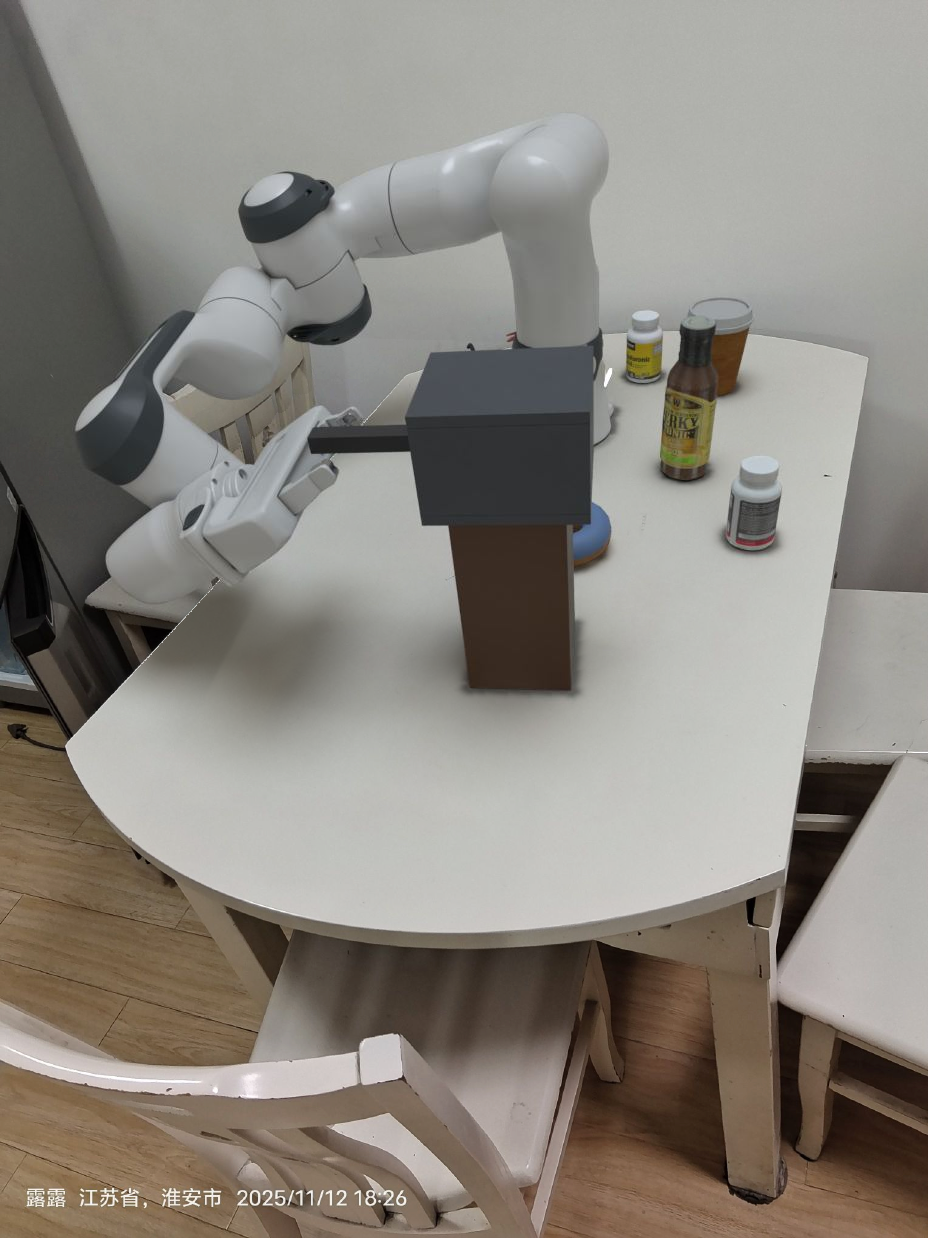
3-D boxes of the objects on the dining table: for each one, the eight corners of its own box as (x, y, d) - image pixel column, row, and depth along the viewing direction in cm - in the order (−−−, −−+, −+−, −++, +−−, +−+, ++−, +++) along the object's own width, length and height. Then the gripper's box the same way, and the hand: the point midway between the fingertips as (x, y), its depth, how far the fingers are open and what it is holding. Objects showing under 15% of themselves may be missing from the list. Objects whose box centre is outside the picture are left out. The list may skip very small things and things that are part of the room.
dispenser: (448, 694, 84) (404, 416, 65) (464, 616, 93) (430, 352, 74) (591, 698, 82) (590, 411, 63) (594, 617, 91) (593, 345, 72)
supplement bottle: (618, 379, 134) (619, 317, 128) (638, 366, 137) (640, 305, 131) (648, 387, 131) (650, 324, 125) (667, 373, 134) (671, 311, 128)
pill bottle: (784, 539, 98) (796, 464, 92) (751, 557, 96) (761, 482, 90) (747, 520, 102) (757, 446, 96) (715, 537, 100) (723, 463, 94)
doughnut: (553, 583, 96) (551, 550, 93) (512, 540, 103) (509, 508, 100) (628, 554, 99) (629, 521, 96) (582, 515, 106) (582, 483, 103)
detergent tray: (305, 506, 73) (285, 431, 69) (334, 448, 81) (318, 377, 76) (573, 503, 69) (571, 424, 65) (577, 442, 77) (576, 367, 72)
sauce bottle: (649, 472, 112) (656, 323, 99) (678, 453, 115) (688, 306, 102) (690, 488, 108) (703, 335, 95) (719, 468, 111) (735, 317, 98)
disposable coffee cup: (668, 383, 131) (672, 305, 124) (720, 367, 134) (727, 290, 126) (705, 406, 124) (712, 326, 117) (759, 390, 127) (770, 309, 119)
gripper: (291, 477, 90) (392, 413, 83) (224, 600, 74) (342, 533, 68) (249, 431, 87) (350, 361, 80) (171, 549, 71) (288, 474, 65)
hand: (346, 441), depth 74 cm, fingers open, 8 cm apart
